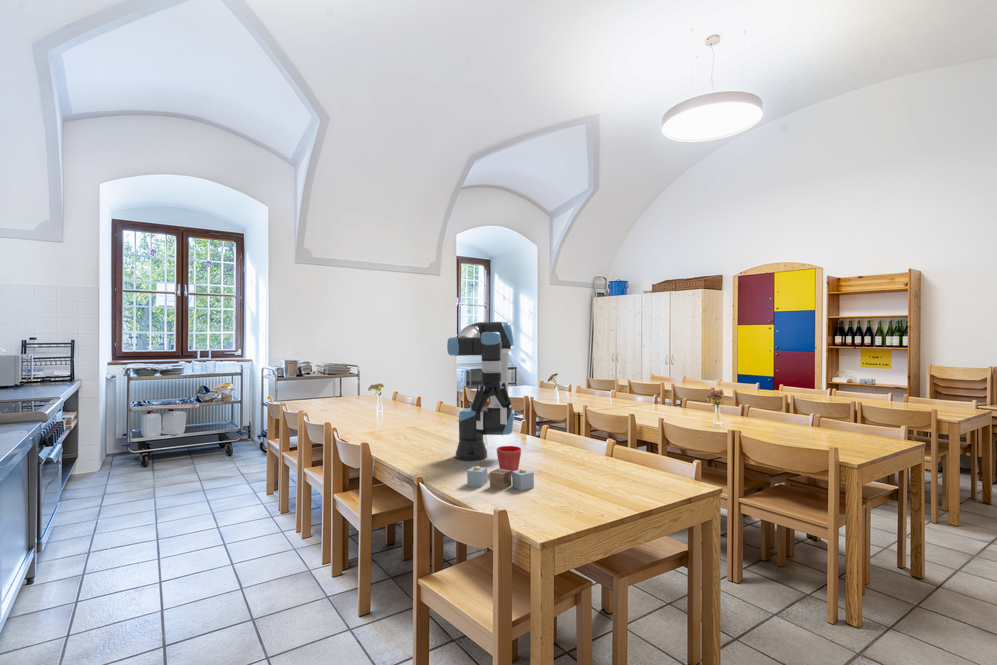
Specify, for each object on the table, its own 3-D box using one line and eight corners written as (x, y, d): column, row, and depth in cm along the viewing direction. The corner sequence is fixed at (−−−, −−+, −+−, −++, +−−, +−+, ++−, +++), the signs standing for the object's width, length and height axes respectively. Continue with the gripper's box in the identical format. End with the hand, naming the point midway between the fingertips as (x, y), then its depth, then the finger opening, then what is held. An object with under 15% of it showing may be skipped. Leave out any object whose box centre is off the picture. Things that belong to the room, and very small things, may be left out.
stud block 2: (525, 484, 197) (524, 466, 197) (533, 488, 192) (533, 470, 192) (512, 486, 194) (512, 469, 194) (520, 490, 189) (520, 472, 189)
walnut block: (498, 483, 199) (498, 468, 199) (511, 485, 195) (511, 470, 195) (490, 487, 194) (489, 472, 194) (503, 490, 190) (502, 474, 190)
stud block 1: (473, 481, 201) (472, 464, 201) (487, 482, 200) (486, 465, 200) (467, 486, 196) (467, 468, 196) (481, 487, 194) (481, 469, 194)
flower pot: (522, 467, 221) (521, 445, 221) (520, 474, 210) (520, 451, 210) (498, 467, 222) (497, 445, 222) (495, 474, 211) (495, 451, 211)
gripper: (505, 369, 206) (505, 421, 206) (461, 373, 187) (461, 430, 187) (519, 370, 201) (520, 423, 201) (475, 374, 182) (476, 432, 182)
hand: (492, 426), depth 194 cm, fingers open, 13 cm apart
